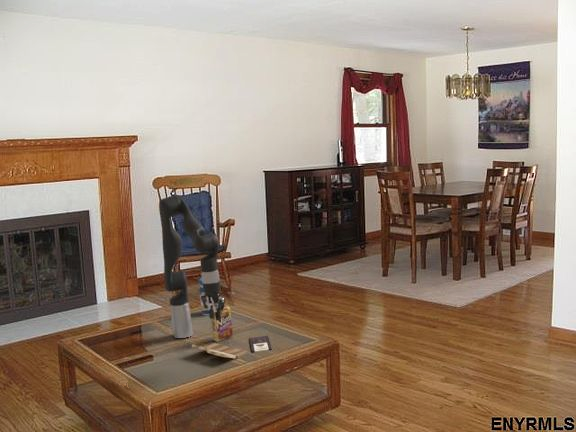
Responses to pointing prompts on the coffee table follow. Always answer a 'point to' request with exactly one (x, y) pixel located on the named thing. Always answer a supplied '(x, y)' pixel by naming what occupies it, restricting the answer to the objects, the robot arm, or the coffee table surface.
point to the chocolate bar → (260, 344)
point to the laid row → (227, 350)
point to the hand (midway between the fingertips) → (215, 318)
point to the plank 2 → (221, 354)
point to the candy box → (222, 325)
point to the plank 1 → (202, 347)
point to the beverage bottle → (204, 311)
